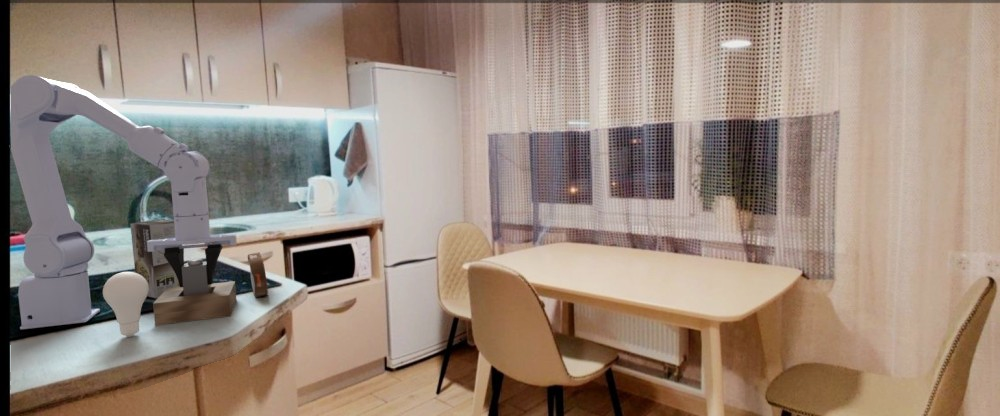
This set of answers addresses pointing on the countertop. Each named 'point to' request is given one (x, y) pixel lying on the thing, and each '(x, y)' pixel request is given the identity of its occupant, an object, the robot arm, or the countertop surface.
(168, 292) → the holder
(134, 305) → the lightbulb
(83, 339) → the countertop surface
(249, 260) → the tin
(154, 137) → the robot arm
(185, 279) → the plug
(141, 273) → the coffee box
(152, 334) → the countertop surface
